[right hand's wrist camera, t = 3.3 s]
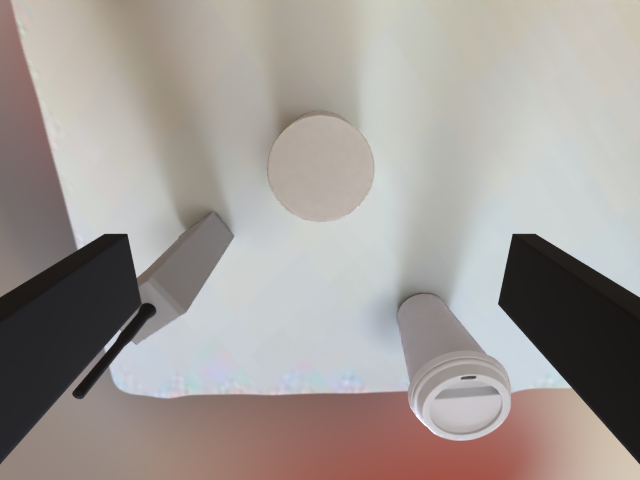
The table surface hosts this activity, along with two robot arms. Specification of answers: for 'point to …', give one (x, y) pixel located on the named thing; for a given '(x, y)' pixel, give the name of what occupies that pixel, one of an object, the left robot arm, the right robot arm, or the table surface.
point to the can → (320, 167)
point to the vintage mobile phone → (168, 288)
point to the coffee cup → (450, 372)
